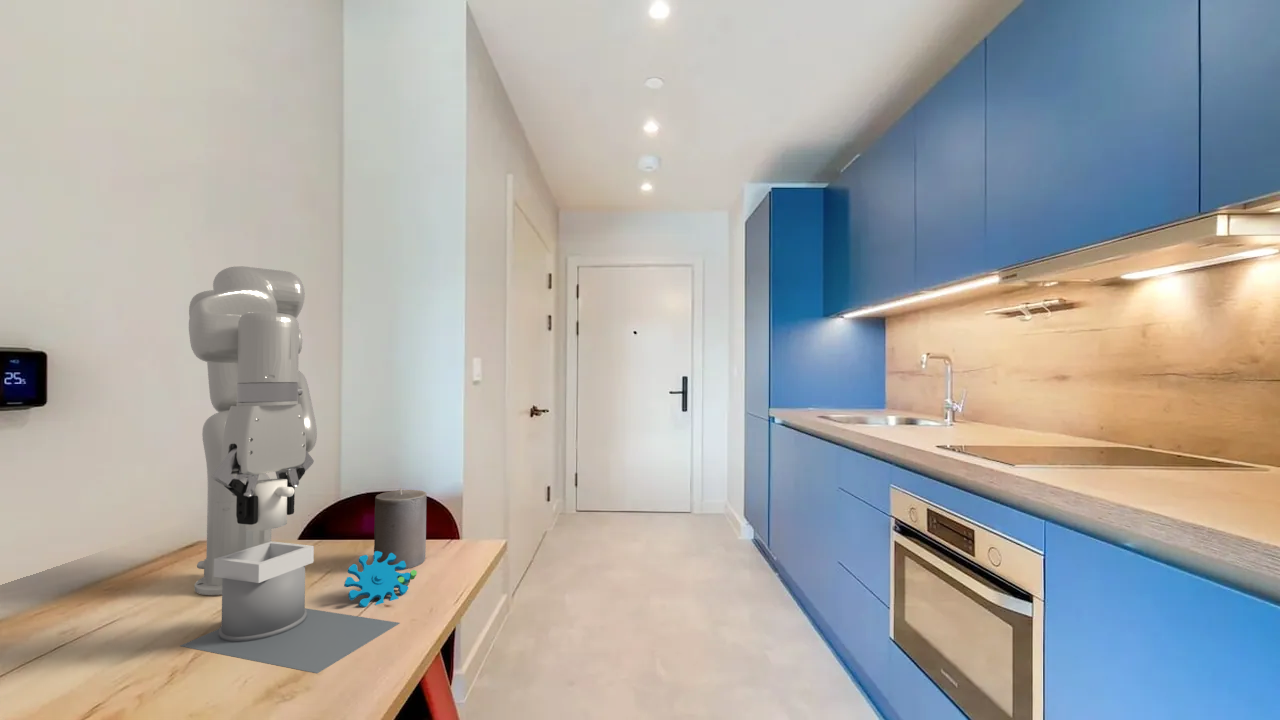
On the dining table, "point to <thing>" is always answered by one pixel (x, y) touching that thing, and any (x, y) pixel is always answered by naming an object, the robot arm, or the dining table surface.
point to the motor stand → (280, 613)
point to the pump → (271, 504)
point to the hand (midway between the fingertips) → (266, 517)
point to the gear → (378, 579)
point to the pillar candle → (401, 526)
